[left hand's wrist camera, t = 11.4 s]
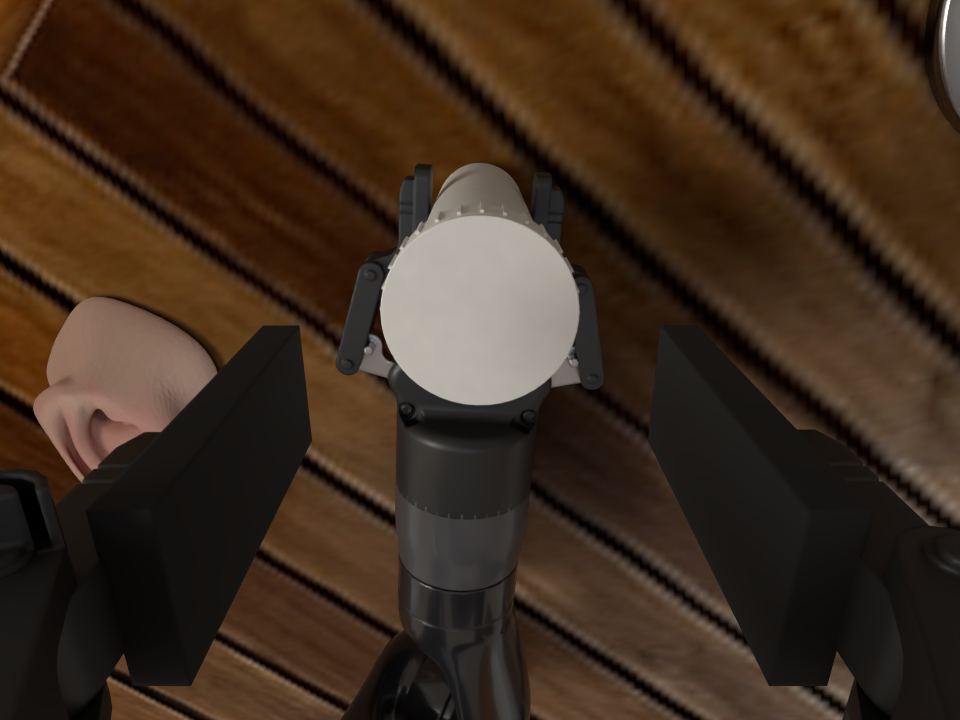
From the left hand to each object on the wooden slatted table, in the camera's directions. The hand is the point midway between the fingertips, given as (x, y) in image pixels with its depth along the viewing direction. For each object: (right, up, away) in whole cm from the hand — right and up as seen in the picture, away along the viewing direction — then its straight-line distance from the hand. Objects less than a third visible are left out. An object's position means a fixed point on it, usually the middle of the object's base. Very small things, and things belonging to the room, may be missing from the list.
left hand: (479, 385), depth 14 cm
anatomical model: (-22, -2, +28) cm, 35 cm away
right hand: (0, +9, +16) cm, 19 cm away
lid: (0, +2, +5) cm, 5 cm away
